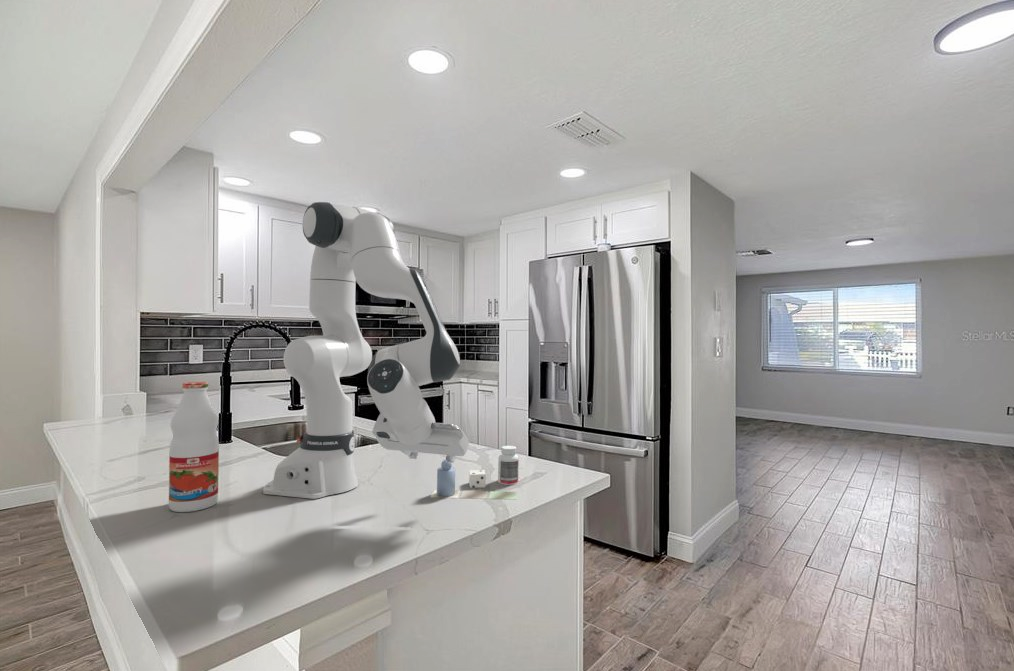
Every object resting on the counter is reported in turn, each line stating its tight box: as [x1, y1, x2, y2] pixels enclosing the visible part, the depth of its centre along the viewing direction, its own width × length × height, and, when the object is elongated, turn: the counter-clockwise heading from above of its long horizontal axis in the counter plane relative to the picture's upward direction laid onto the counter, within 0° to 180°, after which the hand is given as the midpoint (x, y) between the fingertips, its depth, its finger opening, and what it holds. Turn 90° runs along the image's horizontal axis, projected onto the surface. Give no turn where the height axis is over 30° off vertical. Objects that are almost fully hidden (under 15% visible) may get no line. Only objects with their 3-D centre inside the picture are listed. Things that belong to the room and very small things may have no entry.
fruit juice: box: [168, 381, 220, 513], centre depth 108 cm, size 9×9×28 cm
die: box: [468, 469, 487, 489], centre depth 123 cm, size 4×4×4 cm
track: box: [430, 489, 518, 500], centre depth 116 cm, size 22×6×1 cm, turn 88°
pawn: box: [436, 459, 456, 497], centre depth 116 cm, size 4×4×8 cm
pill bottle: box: [497, 445, 520, 486], centre depth 126 cm, size 5×5×10 cm
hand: (432, 457), depth 109 cm, fingers open, 8 cm apart
